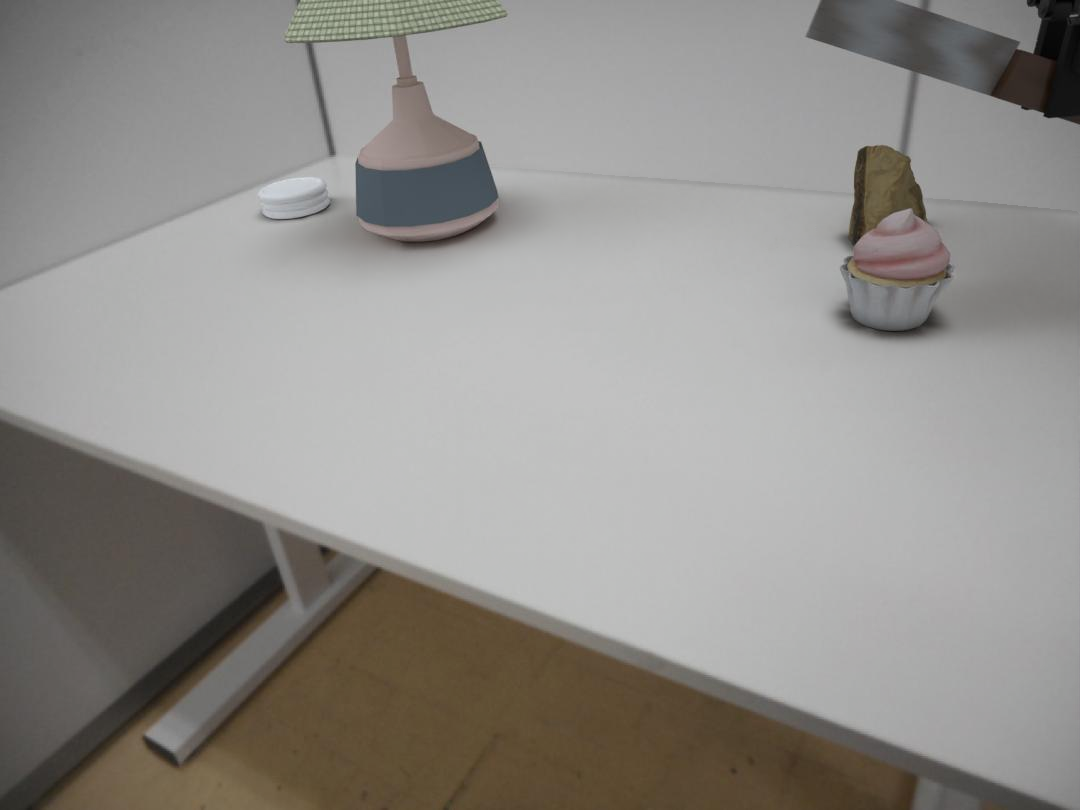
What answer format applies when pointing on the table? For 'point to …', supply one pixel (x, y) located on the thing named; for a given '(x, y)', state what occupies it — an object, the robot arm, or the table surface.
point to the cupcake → (897, 273)
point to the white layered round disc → (294, 198)
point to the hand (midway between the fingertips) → (1051, 110)
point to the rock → (882, 189)
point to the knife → (937, 49)
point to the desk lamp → (410, 123)
